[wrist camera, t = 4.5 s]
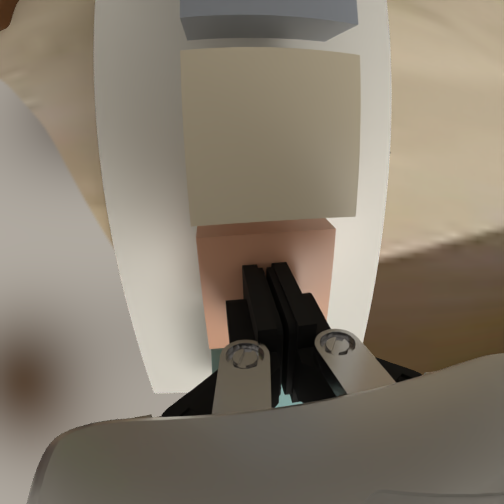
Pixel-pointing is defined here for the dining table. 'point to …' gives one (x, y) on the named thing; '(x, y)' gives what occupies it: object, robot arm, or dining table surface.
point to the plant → (6, 12)
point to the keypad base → (175, 182)
